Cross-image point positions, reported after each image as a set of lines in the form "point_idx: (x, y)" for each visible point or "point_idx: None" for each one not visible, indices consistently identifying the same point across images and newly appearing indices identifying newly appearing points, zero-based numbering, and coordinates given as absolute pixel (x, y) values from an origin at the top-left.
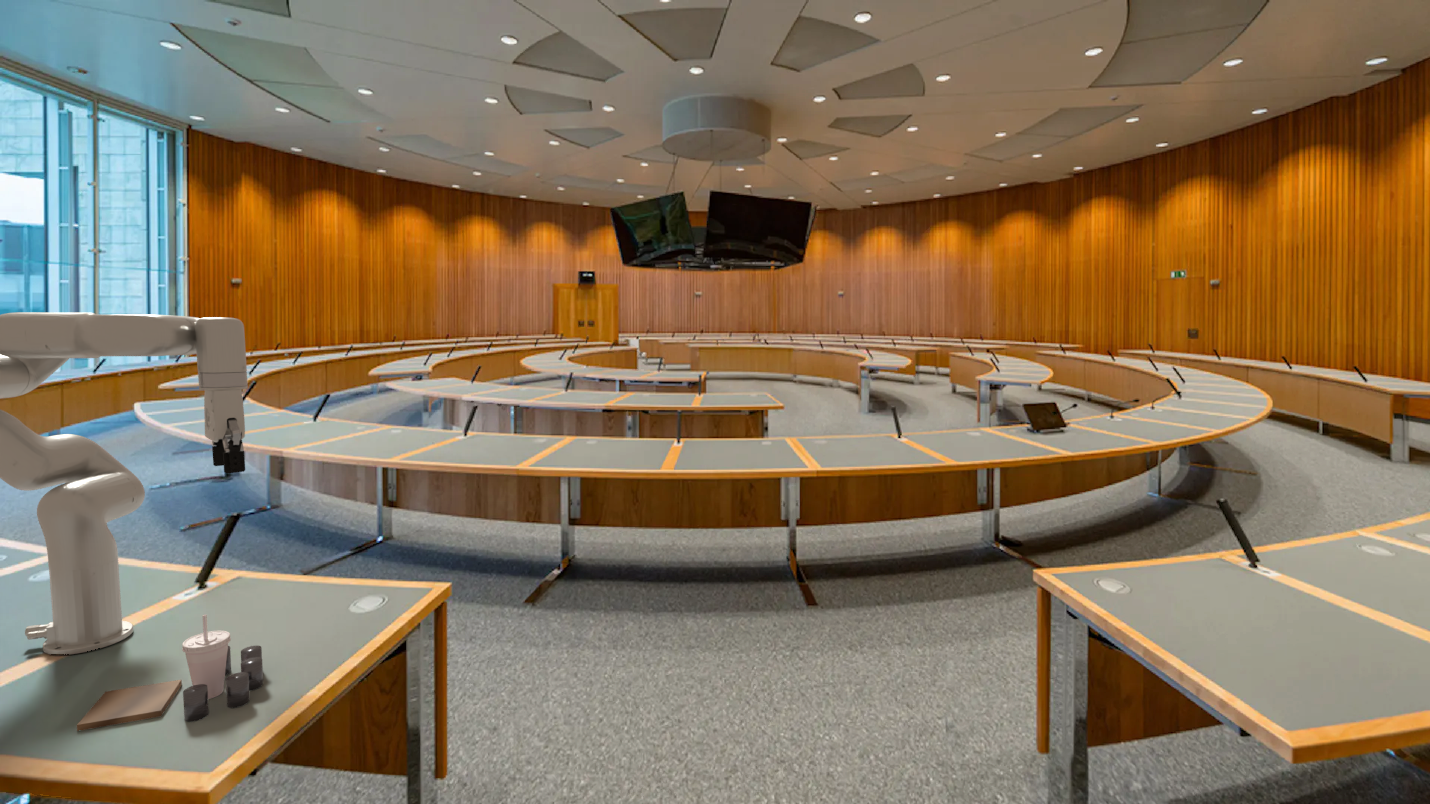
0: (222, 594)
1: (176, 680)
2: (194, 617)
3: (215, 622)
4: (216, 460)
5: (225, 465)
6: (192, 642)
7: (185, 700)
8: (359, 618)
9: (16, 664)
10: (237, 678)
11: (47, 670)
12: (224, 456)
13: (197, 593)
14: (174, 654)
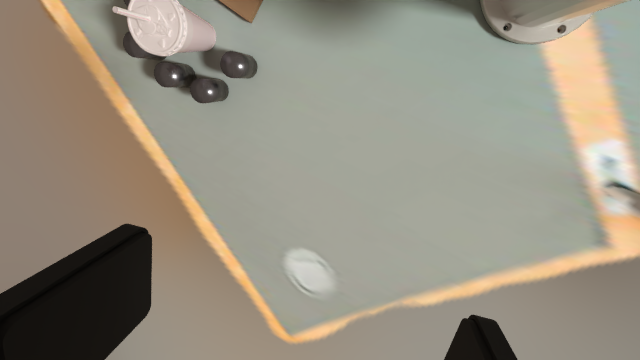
0: (543, 192)
1: (250, 16)
2: (480, 124)
3: (427, 134)
4: (472, 355)
5: (86, 253)
6: (155, 2)
7: None
8: (272, 240)
9: None
10: (129, 43)
11: None
12: (4, 299)
13: (594, 172)
14: (358, 51)
